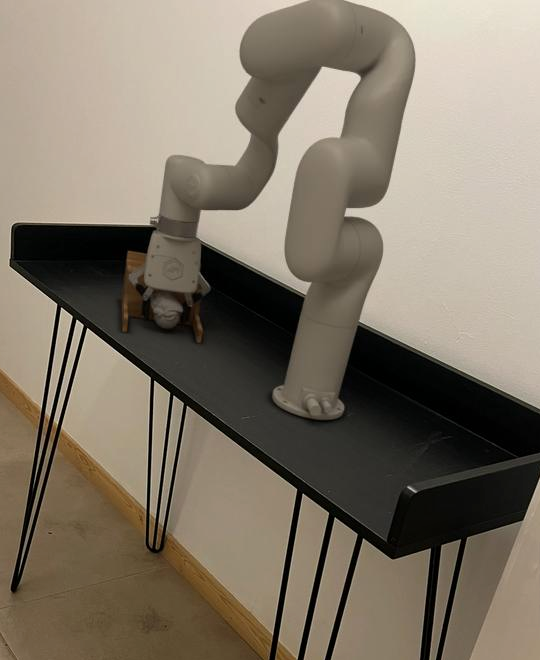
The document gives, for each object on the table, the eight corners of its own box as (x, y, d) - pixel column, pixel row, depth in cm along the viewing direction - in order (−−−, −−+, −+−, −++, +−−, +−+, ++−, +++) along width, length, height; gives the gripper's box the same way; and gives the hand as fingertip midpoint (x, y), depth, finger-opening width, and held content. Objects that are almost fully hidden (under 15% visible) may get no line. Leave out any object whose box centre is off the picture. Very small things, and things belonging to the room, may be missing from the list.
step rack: (200, 343, 163) (210, 289, 158) (122, 331, 160) (129, 277, 155) (192, 311, 180) (200, 262, 175) (121, 300, 177) (127, 250, 172)
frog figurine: (156, 319, 168) (161, 285, 165) (186, 329, 166) (192, 294, 163) (140, 325, 163) (145, 289, 160) (171, 335, 161) (176, 299, 158)
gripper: (131, 224, 151) (120, 321, 159) (225, 239, 154) (209, 333, 163) (130, 216, 157) (119, 310, 166) (221, 231, 161) (206, 322, 169)
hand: (164, 320), depth 164 cm, fingers closed on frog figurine, 6 cm apart
